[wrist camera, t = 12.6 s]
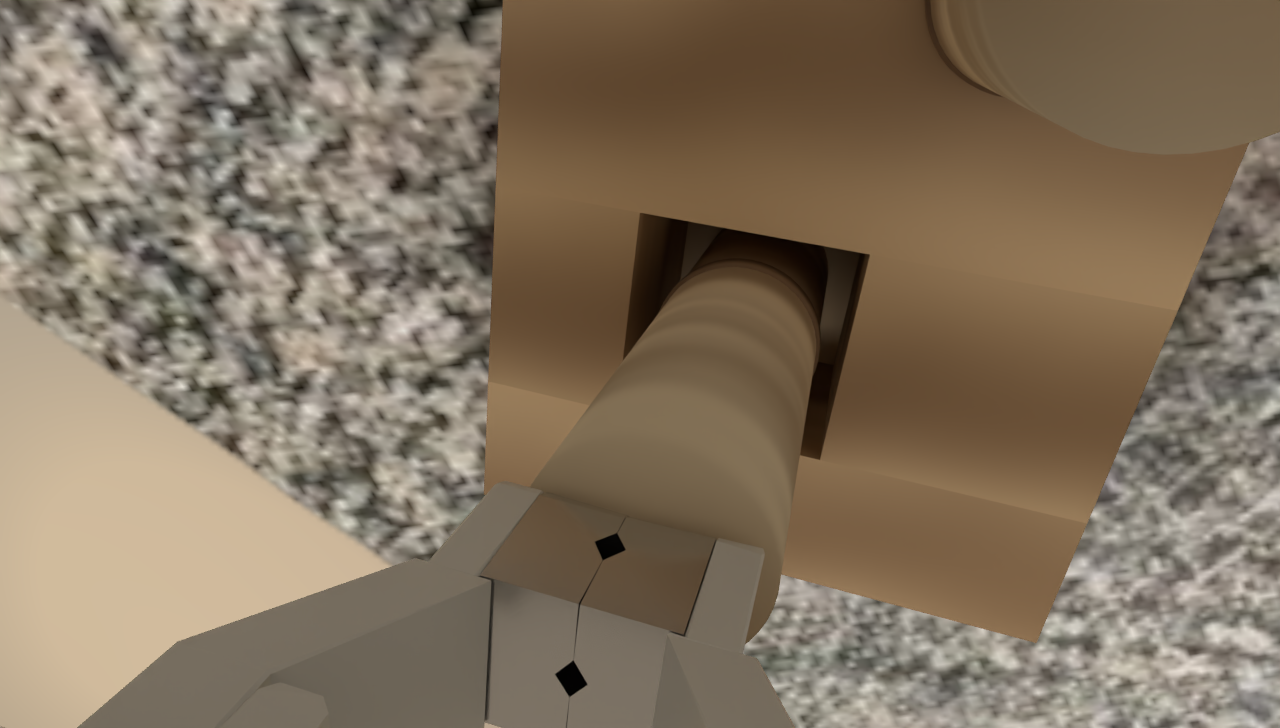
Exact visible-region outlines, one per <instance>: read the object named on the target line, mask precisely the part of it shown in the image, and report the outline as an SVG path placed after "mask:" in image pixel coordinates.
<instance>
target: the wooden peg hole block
mask: <svg viewBox="0 0 1280 728" xmlns="http://www.w3.org/2000/svg"><path fill="white" fill-rule="evenodd" d="M1278 132H1280V0H503V13H502V39H501V65H500V91H499V117H498V143H497V169H496V195H495V221H494V247H493V273H492V299H491V325H490V351H489V377H488V403H487V428H486V454H485V480H484V494H485V495H486V494H487V493H488V492H489V491H490V490H491V489H492V487H493V486H494V485H495V484H497V483H499V482H503V481H508V482H512V483H516V484H520V485H523V486H527V487H530V485H531V484H532V483H533V481H534V480H535V478H536V477H537V475H538V474H539V473H540V471H541V470H542V469H543V467H544V466H545V465H546V463H547V462H548V461H549V459H550V458H551V457H552V455H553V454H554V453H555V451H556V450H557V449H558V447H559V446H560V445H561V443H562V442H563V441H564V439H565V438H566V437H567V435H568V434H569V433H570V431H571V430H572V429H573V427H574V426H575V425H576V423H577V422H578V420H579V419H580V418H581V416H582V415H583V414H584V412H585V411H586V410H587V408H588V407H589V406H590V404H591V403H592V402H593V400H594V399H595V398H596V396H597V395H598V394H599V392H600V391H601V390H602V388H603V387H604V386H605V384H606V383H607V382H608V380H609V379H610V378H611V376H612V375H613V374H614V372H615V371H616V370H617V368H618V367H619V366H620V364H621V363H622V362H623V360H624V359H625V358H626V356H627V355H628V354H629V352H630V351H631V350H632V348H633V347H634V346H635V344H636V343H637V342H638V340H639V339H640V338H641V336H642V335H643V334H644V332H645V331H646V329H647V328H648V327H649V325H650V324H651V323H652V321H653V320H654V319H655V317H656V316H657V315H658V313H659V311H660V308H661V306H662V304H663V302H664V301H665V299H666V298H667V296H668V295H669V293H670V292H671V291H672V289H673V288H674V287H675V286H676V285H677V284H678V282H679V281H680V280H681V279H682V278H684V277H685V276H686V275H687V274H688V273H689V272H690V271H691V269H692V268H693V267H694V265H695V264H696V263H697V261H698V260H699V259H700V257H701V256H702V255H703V253H704V252H705V251H706V249H707V248H708V247H709V245H710V244H711V242H712V241H713V240H714V238H715V237H716V236H717V234H718V233H719V232H720V231H721V230H722V229H723V228H727V229H733V230H738V231H744V232H749V233H755V234H760V235H766V236H771V237H777V238H782V239H788V240H793V241H798V242H804V243H809V244H815V245H820V246H823V247H824V249H825V252H826V256H827V260H828V280H827V286H826V292H825V299H824V305H823V312H822V318H821V324H820V332H821V344H820V351H819V358H818V363H817V366H816V370H815V372H814V375H813V377H812V381H811V388H810V394H809V400H808V407H807V413H806V420H805V426H804V432H803V439H802V445H801V451H800V458H799V464H798V470H797V477H796V483H795V489H794V496H793V502H792V508H791V515H790V521H789V527H788V534H787V540H786V547H785V553H784V559H783V566H782V572H781V574H782V575H786V576H790V577H793V578H797V579H801V580H804V581H808V582H812V583H816V584H819V585H823V586H827V587H830V588H834V589H838V590H842V591H845V592H849V593H853V594H856V595H860V596H864V597H868V598H871V599H875V600H879V601H882V602H886V603H890V604H894V605H897V606H901V607H905V608H908V609H912V610H916V611H920V612H923V613H927V614H931V615H934V616H938V617H942V618H946V619H949V620H953V621H957V622H960V623H964V624H968V625H972V626H975V627H979V628H983V629H986V630H990V631H994V632H998V633H1001V634H1005V635H1009V636H1013V637H1016V638H1020V639H1024V640H1027V641H1031V642H1035V643H1036V642H1037V640H1038V638H1039V635H1040V633H1041V631H1042V628H1043V626H1044V624H1045V621H1046V619H1047V616H1048V614H1049V612H1050V609H1051V607H1052V605H1053V602H1054V600H1055V598H1056V595H1057V593H1058V591H1059V588H1060V586H1061V584H1062V581H1063V579H1064V577H1065V574H1066V572H1067V570H1068V567H1069V565H1070V562H1071V560H1072V558H1073V555H1074V553H1075V551H1076V548H1077V546H1078V544H1079V541H1080V539H1081V537H1082V534H1083V532H1084V530H1085V527H1086V525H1087V523H1088V520H1089V518H1090V515H1091V513H1092V511H1093V508H1094V506H1095V504H1096V501H1097V499H1098V497H1099V494H1100V492H1101V490H1102V487H1103V485H1104V483H1105V480H1106V478H1107V476H1108V473H1109V471H1110V469H1111V466H1112V464H1113V461H1114V459H1115V457H1116V454H1117V452H1118V450H1119V447H1120V445H1121V443H1122V440H1123V438H1124V436H1125V433H1126V431H1127V429H1128V426H1129V424H1130V422H1131V419H1132V417H1133V415H1134V412H1135V410H1136V407H1137V405H1138V403H1139V400H1140V398H1141V396H1142V393H1143V391H1144V389H1145V386H1146V384H1147V382H1148V379H1149V377H1150V375H1151V372H1152V370H1153V368H1154V365H1155V363H1156V360H1157V358H1158V356H1159V353H1160V351H1161V349H1162V346H1163V344H1164V342H1165V339H1166V337H1167V335H1168V332H1169V330H1170V328H1171V325H1172V323H1173V321H1174V318H1175V316H1176V314H1177V311H1178V309H1179V306H1180V304H1181V302H1182V299H1183V297H1184V295H1185V292H1186V290H1187V288H1188V285H1189V283H1190V281H1191V278H1192V276H1193V274H1194V271H1195V269H1196V267H1197V264H1198V262H1199V260H1200V257H1201V255H1202V252H1203V250H1204V248H1205V245H1206V243H1207V241H1208V238H1209V236H1210V234H1211V231H1212V229H1213V227H1214V224H1215V222H1216V220H1217V217H1218V215H1219V213H1220V210H1221V208H1222V205H1223V203H1224V201H1225V198H1226V196H1227V194H1228V191H1229V189H1230V187H1231V184H1232V182H1233V180H1234V177H1235V175H1236V173H1237V170H1238V168H1239V166H1240V163H1241V161H1242V159H1243V156H1244V154H1245V151H1246V149H1247V147H1248V144H1249V142H1253V141H1256V140H1259V139H1262V138H1264V137H1267V136H1270V135H1272V134H1275V133H1278Z"/></svg>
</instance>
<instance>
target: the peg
mask: <svg viewBox="0 0 1280 728" xmlns="http://www.w3.org/2000/svg"><path fill="white" fill-rule="evenodd" d="M827 280H828V260H827V256H826V252H825V249H824V247H823V246H820V245H815V244H809V243H804V242H798V241H793V240H788V239H782V238H777V237H771V236H766V235H760V234H755V233H749V232H744V231H738V230H733V229H727V228H723V229H722V230H721V231H720V232H719V233H718V234H717V236H716V237H715V238H714V240H713V241H712V242H711V244H710V245H709V247H708V248H707V249H706V251H705V252H704V253H703V255H702V256H701V257H700V259H699V260H698V261H697V263H696V264H695V265H694V267H693V268H692V269H691V271H690V272H689V273H688V274H687V275H686V276H685V277H684V278H682V279H681V280H680V281H679V282H678V284H677V285H676V286H675V287H674V288H673V289H672V291H671V292H670V293H669V295H668V296H667V298H666V299H665V301H664V302H663V304H662V306H661V308H660V311H659V313H658V315H657V316H656V317H655V319H654V320H653V321H652V323H651V324H650V325H649V327H648V328H647V329H646V331H645V332H644V334H643V335H642V336H641V338H640V339H639V340H638V342H637V343H636V344H635V346H634V347H633V348H632V350H631V351H630V352H629V354H628V355H627V356H626V358H625V359H624V360H623V362H622V363H621V364H620V366H619V367H618V368H617V370H616V371H615V372H614V374H613V375H612V376H611V378H610V379H609V380H608V382H607V383H606V384H605V386H604V387H603V388H602V390H601V391H600V392H599V394H598V395H597V396H596V398H595V399H594V400H593V402H592V403H591V404H590V406H589V407H588V408H587V410H586V411H585V412H584V414H583V415H582V416H581V418H580V419H579V420H578V422H577V423H576V425H575V426H574V427H573V429H572V430H571V431H570V433H569V434H568V435H567V437H566V438H565V439H564V441H563V442H562V443H561V445H560V446H559V447H558V449H557V450H556V451H555V453H554V454H553V455H552V457H551V458H550V459H549V461H548V462H547V463H546V465H545V466H544V467H543V469H542V470H541V471H540V473H539V474H538V475H537V477H536V478H535V480H534V481H533V483H532V484H531V485H530V487H531V488H535V489H538V490H542V491H543V492H549V493H553V494H556V495H560V496H563V497H567V498H570V499H574V500H577V501H581V502H584V503H588V504H591V505H594V506H598V507H601V508H605V509H608V510H612V511H615V512H619V513H622V514H626V515H629V517H633V518H637V519H641V520H645V521H649V522H653V523H657V524H661V525H665V526H668V527H672V528H676V529H680V530H684V531H688V532H692V533H696V534H700V535H704V536H708V537H712V538H716V539H717V540H718V538H721V539H726V540H730V541H734V542H739V543H743V544H747V545H752V546H756V547H760V548H763V549H764V552H765V556H764V561H763V565H762V570H761V574H760V579H759V583H758V588H757V592H756V597H755V601H754V606H753V610H752V615H751V619H750V623H749V628H748V632H747V637H746V641H745V644H746V643H747V642H749V641H750V640H751V639H752V638H753V637H754V636H755V635H756V634H757V633H758V632H759V631H760V629H761V628H762V627H763V625H764V624H765V623H766V621H767V620H768V618H769V616H770V614H771V612H772V610H773V608H774V605H775V602H776V599H777V595H778V591H779V585H780V578H781V572H782V566H783V559H784V553H785V547H786V540H787V534H788V527H789V521H790V515H791V508H792V502H793V496H794V489H795V483H796V477H797V470H798V464H799V458H800V451H801V445H802V439H803V432H804V426H805V420H806V413H807V407H808V400H809V394H810V388H811V381H812V377H813V375H814V372H815V370H816V366H817V363H818V358H819V351H820V344H821V332H820V324H821V318H822V312H823V305H824V299H825V292H826V286H827Z"/></svg>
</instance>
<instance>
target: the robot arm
mask: <svg viewBox="0 0 1280 728" xmlns="http://www.w3.org/2000/svg"><path fill="white" fill-rule="evenodd" d="M764 556H765V552H764V549H763V548H760V547H756V546H752V545H747V544H743V543H739V542H734V541H730V540H726V539H721V538H718V540H717V539H716V538H712V537H708V536H704V535H700V534H696V533H692V532H688V531H684V530H680V529H676V528H672V527H668V526H665V525H661V524H657V523H653V522H649V521H645V520H641V519H637V518H633V517H629V515H626V514H622V513H619V512H615V511H612V510H608V509H605V508H601V507H598V506H594V505H591V504H588V503H584V502H581V501H577V500H574V499H570V498H567V497H563V496H560V495H556V494H553V493H549V492H543V491H542V490H538V489H535V488H531V487H527V486H523V485H520V484H516V483H512V482H508V481H503V482H499V483H497V484H495V485H494V486H493V487H492V489H491V490H490V491H489V492H488V493H487V494H486V495H485V497H484V498H483V499H482V500H481V501H480V502H479V504H478V505H477V506H476V507H475V508H474V509H473V511H472V512H471V513H470V514H469V515H468V516H467V517H466V519H465V520H464V521H463V522H462V523H461V524H460V526H459V527H458V528H457V529H456V530H455V531H454V532H453V534H452V535H451V536H450V537H449V538H448V539H447V541H446V542H445V543H444V544H443V545H442V546H441V547H440V549H439V550H438V551H437V552H436V553H435V554H434V556H433V557H432V558H431V559H430V560H429V561H428V562H427V561H424V560H420V559H416V558H415V559H412V560H409V561H406V562H403V563H401V564H398V565H395V566H392V567H389V568H386V569H384V570H381V571H378V572H375V573H372V574H369V575H366V576H364V577H361V578H358V579H355V580H352V581H349V582H346V583H344V584H341V585H338V586H335V587H332V588H329V589H326V590H324V591H321V592H318V593H315V594H312V595H309V596H306V597H304V598H301V599H298V600H295V601H293V602H290V603H287V604H284V605H281V606H278V607H275V608H272V609H269V610H267V611H264V612H261V613H258V614H255V615H253V616H249V617H247V618H244V619H241V620H238V621H235V622H233V623H230V624H227V625H224V626H221V627H218V628H215V629H212V630H210V631H207V632H204V633H201V634H198V635H196V636H192V637H190V638H187V639H184V640H181V641H178V642H177V643H175V644H174V645H173V646H172V647H171V648H170V649H169V650H167V651H166V652H165V653H164V654H163V655H161V656H160V657H159V658H158V659H157V660H156V661H154V662H153V663H152V664H151V665H150V666H149V667H147V669H145V670H144V671H143V672H142V673H141V674H139V675H138V676H137V677H136V678H135V679H133V680H132V681H131V682H130V683H129V684H128V685H126V686H125V687H124V688H123V689H122V690H121V691H119V692H118V693H117V694H116V695H115V696H114V697H112V698H111V699H110V700H109V701H108V702H107V703H105V704H104V705H103V706H102V707H101V708H100V709H99V710H97V711H96V712H95V713H94V714H93V715H92V716H90V717H89V718H88V719H87V720H86V721H84V722H83V723H82V724H81V725H80V726H79V727H78V728H484V722H485V723H489V724H492V725H495V726H499V727H502V728H795V726H794V725H793V723H792V721H791V719H790V717H789V716H788V714H787V712H786V710H785V708H784V706H783V705H782V703H781V701H780V699H779V697H778V696H777V694H776V692H775V690H774V688H773V686H772V685H771V683H770V681H769V679H768V677H767V676H766V674H765V672H764V670H763V668H762V666H761V665H760V663H759V661H758V659H756V658H754V657H751V656H747V655H744V654H743V650H744V646H745V641H746V637H747V632H748V628H749V623H750V619H751V615H752V610H753V606H754V601H755V597H756V592H757V588H758V583H759V579H760V574H761V570H762V565H763V561H764ZM0 728H5V727H2V726H0Z"/></svg>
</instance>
